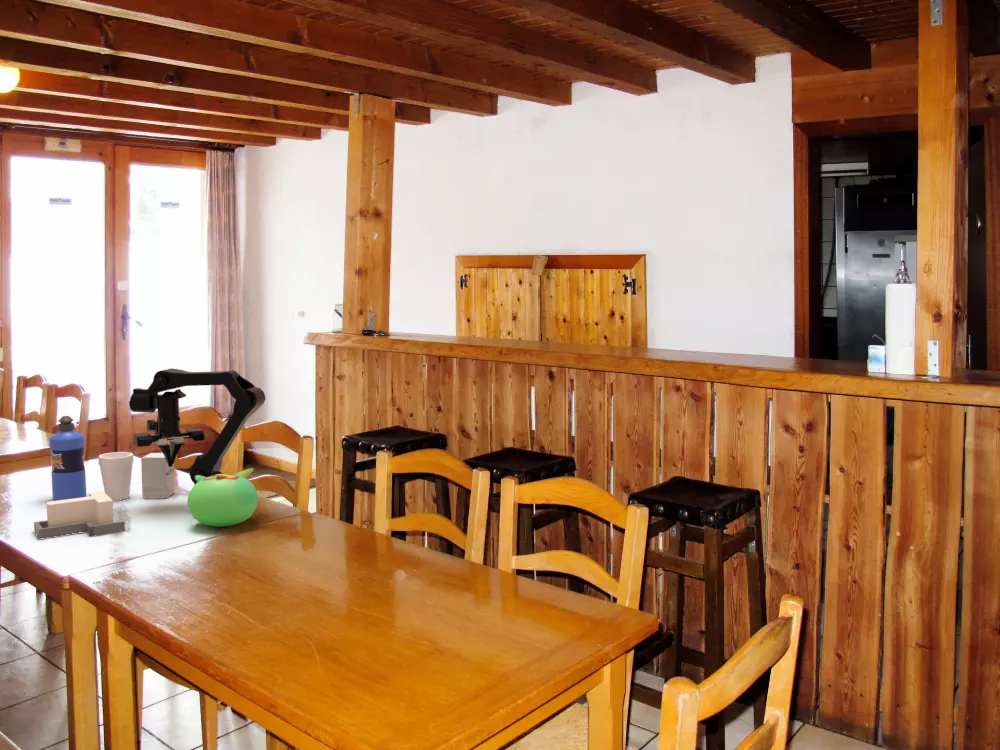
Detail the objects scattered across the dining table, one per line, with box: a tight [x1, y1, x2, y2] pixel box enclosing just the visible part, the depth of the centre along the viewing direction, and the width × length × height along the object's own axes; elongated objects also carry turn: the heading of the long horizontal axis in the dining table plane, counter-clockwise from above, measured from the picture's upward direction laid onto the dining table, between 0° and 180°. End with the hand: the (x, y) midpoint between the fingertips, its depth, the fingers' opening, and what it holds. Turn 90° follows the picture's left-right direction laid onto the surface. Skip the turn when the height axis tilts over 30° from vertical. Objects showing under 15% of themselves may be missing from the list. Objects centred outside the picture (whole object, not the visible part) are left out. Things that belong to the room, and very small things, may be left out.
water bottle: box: [48, 415, 87, 501], centre depth 259 cm, size 9×9×25 cm
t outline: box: [33, 519, 126, 540], centre depth 231 cm, size 20×17×2 cm
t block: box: [45, 490, 115, 527], centre depth 231 cm, size 14×12×8 cm
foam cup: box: [98, 451, 134, 501], centre depth 263 cm, size 10×9×13 cm
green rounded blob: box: [187, 467, 259, 528], centre depth 236 cm, size 18×17×15 cm
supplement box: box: [140, 452, 176, 499], centre depth 266 cm, size 7×7×13 cm
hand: (170, 466), depth 252 cm, fingers closed
